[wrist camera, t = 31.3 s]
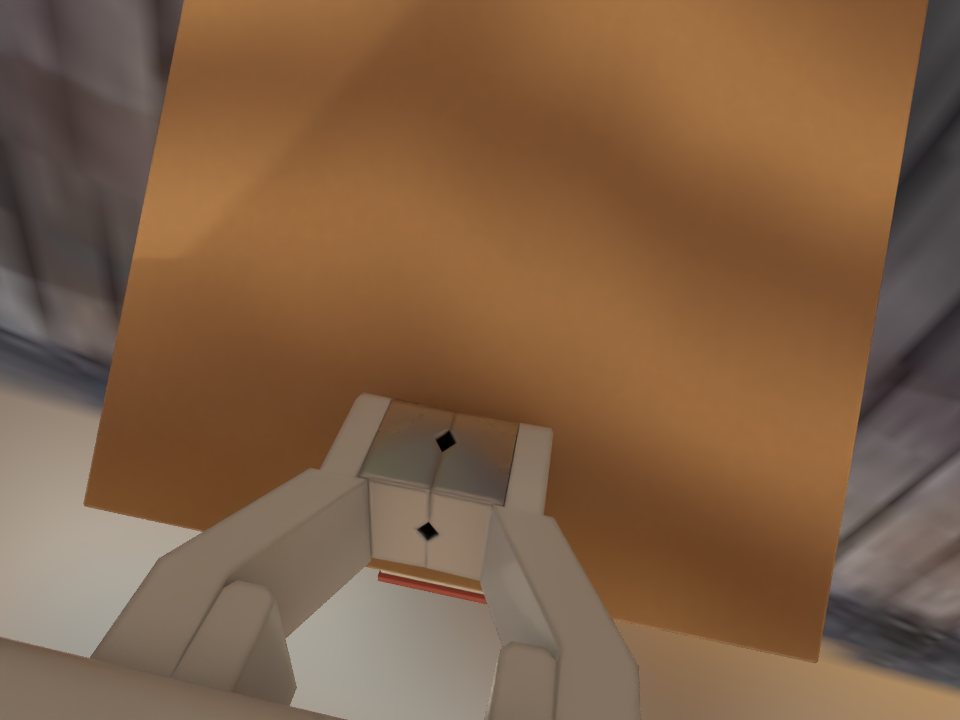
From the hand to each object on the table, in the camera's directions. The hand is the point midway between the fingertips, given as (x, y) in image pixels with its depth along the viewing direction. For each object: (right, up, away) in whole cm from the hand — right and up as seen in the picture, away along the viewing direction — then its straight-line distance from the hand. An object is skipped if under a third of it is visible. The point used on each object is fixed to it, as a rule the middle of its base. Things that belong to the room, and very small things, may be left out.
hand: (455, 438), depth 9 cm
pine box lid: (+1, +5, +1) cm, 5 cm away
